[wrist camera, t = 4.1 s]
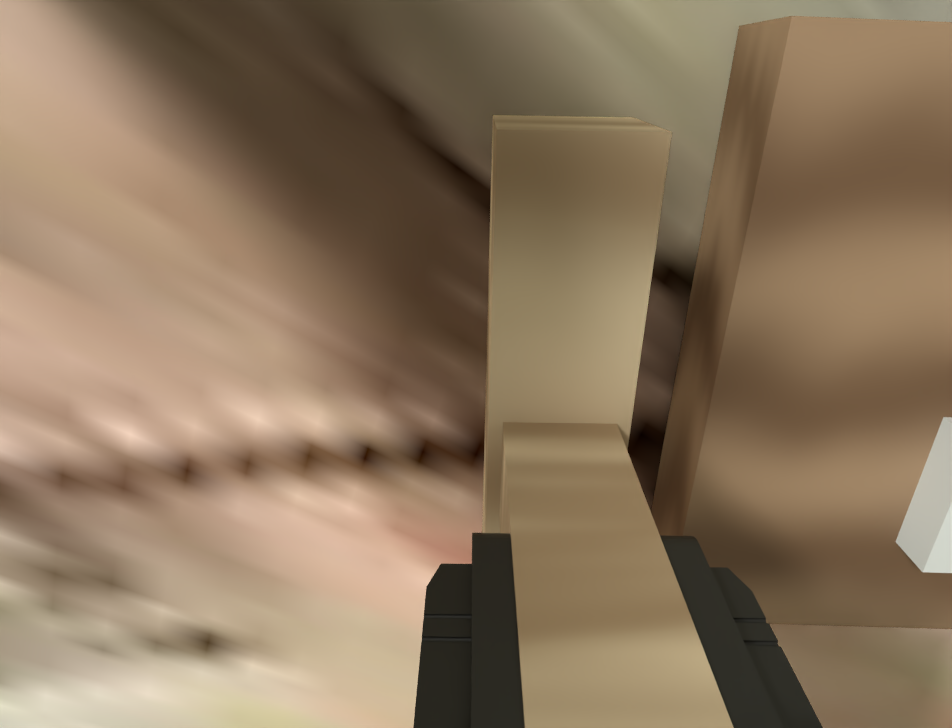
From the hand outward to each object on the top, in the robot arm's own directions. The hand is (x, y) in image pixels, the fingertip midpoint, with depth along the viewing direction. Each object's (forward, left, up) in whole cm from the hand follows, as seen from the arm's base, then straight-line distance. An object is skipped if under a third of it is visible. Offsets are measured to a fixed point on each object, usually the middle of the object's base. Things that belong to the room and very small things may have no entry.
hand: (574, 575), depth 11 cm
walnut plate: (+1, +14, -13) cm, 19 cm away
